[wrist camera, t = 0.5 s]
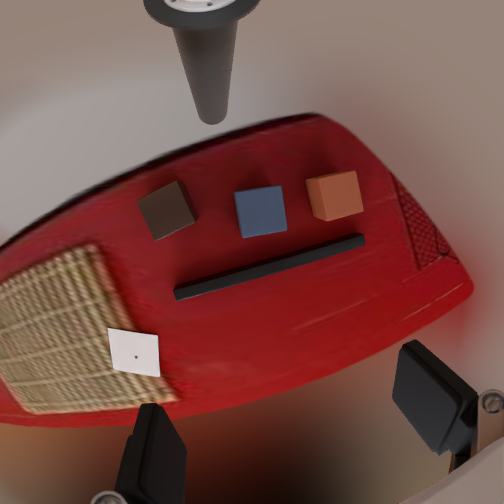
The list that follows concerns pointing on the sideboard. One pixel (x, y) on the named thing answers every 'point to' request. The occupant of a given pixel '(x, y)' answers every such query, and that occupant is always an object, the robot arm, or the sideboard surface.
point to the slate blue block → (260, 211)
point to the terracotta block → (334, 195)
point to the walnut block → (168, 210)
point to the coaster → (134, 352)
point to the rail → (268, 266)
